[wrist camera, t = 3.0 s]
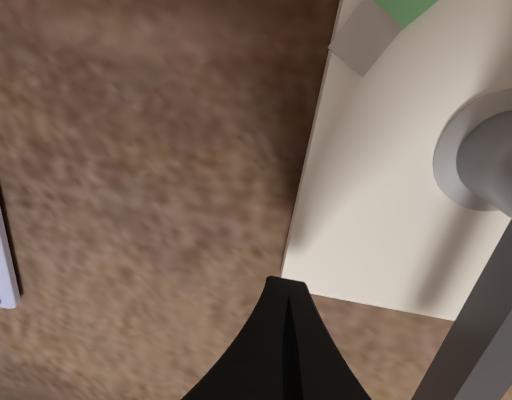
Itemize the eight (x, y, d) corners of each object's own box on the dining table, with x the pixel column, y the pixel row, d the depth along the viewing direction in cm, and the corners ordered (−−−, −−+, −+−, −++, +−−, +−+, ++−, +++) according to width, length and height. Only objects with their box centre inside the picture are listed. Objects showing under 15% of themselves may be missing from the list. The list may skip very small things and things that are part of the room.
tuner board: (276, 272, 14) (275, 289, 13) (360, -123, 8) (371, -152, 7) (548, 323, 13) (570, 346, 12) (827, -61, 8) (913, -82, 7)
